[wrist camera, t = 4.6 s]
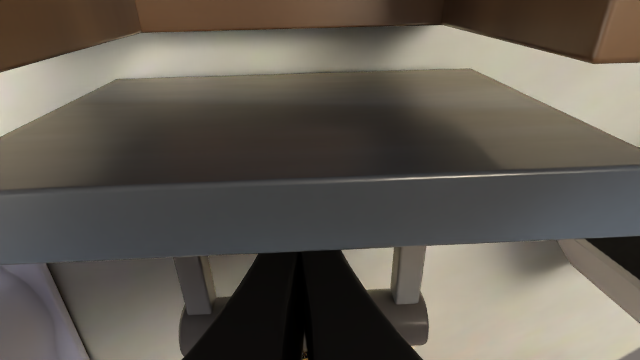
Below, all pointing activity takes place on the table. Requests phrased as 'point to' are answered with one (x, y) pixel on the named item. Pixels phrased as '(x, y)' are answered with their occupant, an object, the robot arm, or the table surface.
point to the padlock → (609, 267)
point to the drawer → (309, 147)
